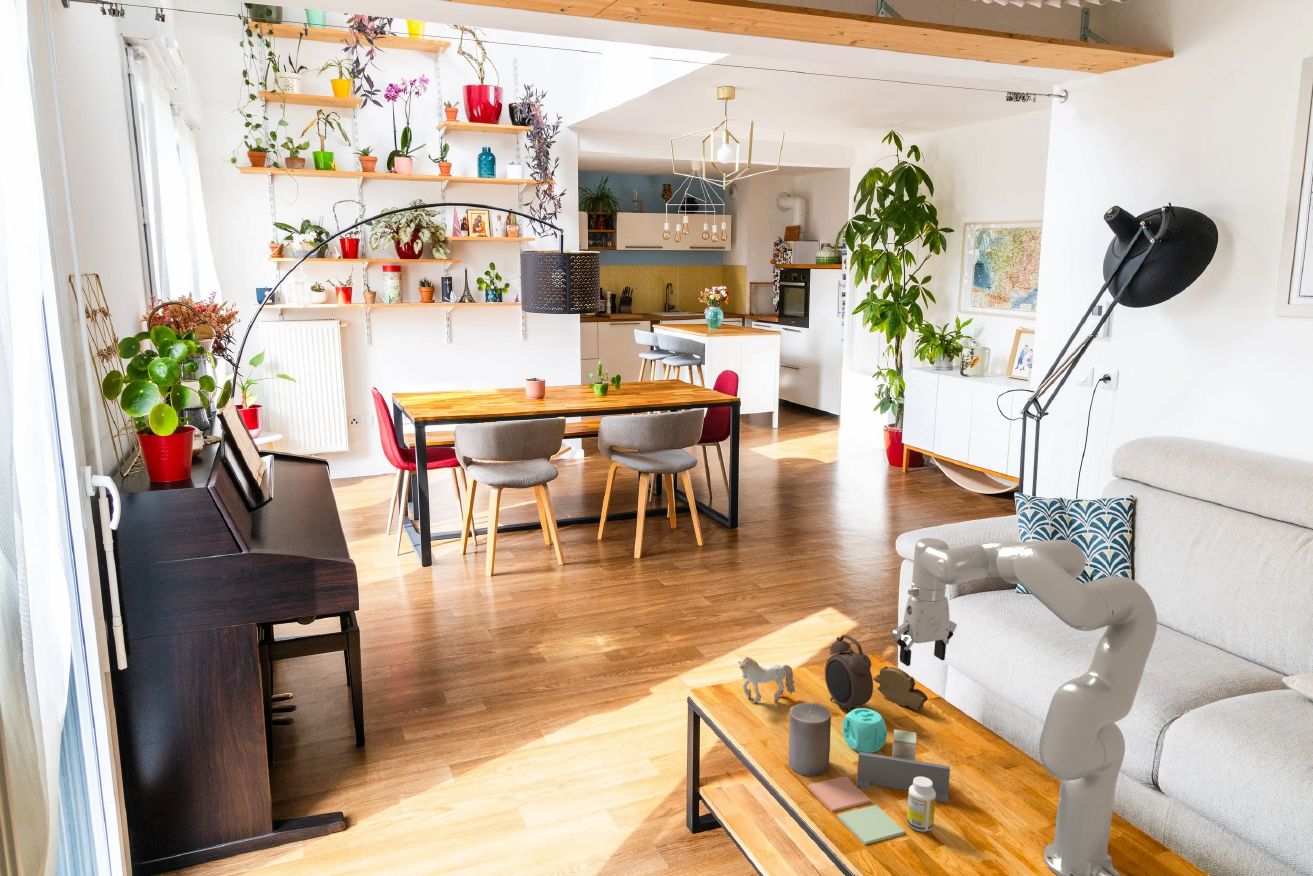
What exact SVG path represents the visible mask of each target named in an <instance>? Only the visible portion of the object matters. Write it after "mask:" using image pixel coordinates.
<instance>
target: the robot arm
mask: <svg viewBox="0 0 1313 876" xmlns="http://www.w3.org/2000/svg"><path fill="white" fill-rule="evenodd" d="M1085 567H1086V555H1085V554H1084V552H1083V550H1082V548H1080V546H1079V545H1077V543H1076V544H1075V543H1074V542H1071V541H1070V540H1069V541H1068V540H1064V539H1050V540H1049V539H1048V540H1034V541H1033V540H1032V541H1019V542H997V543H996V542H994V543H979V544H971V545H966V546H961V547H956V548H950V546H949V544H948V543H947V542H946V541H944V540H942V539H939V538H933V537H932V538H930V537H926V538H925V537H924V538H920V539H919V540H917V541H916V542H915V546H914V554H913V567H912V578H911V588H910V589H908V590H907V594H908V598H907V602H906V606H905V609H904V610H905V611H904V616H903V621H902V622H903V623H902V624H901V625H899V626H898V627H896V628H895V629H894V630H892V631H891V633H892V636H893V639H894V642H895V643H897V645H898V646H899V662H900V663H902V664H903V665H905V666H906V667H910V666H911V663H912V661H911V659H912V650H911V647H912V646H913V645H914V643H915V644H924V643H930V642H934V650H933V651H934V652H933V656H934V657H936V658H938V659H939V660H941V661H945V660H946V651H947V645H949V643H950V639H951V638H953V635H954V632H955V630H956V628H957V627H958V624H957V623H956V622H955V621H952V620H950V606H949V600H948V597H947V596H946V587H947V585H949V586H950V585H957V584H963V583H966V582H969V581H970V582H971V581H973V580H979V579H984V578H997V577H998V578H999V577H1001V578H1002V579H1003V580H1004V582H1006V583H1008V584H1013V585H1016V584H1017V585H1020V584H1021V585H1022V586H1023V587H1024V588H1025V589H1026V590H1027V591H1028V592H1029V593H1030V594H1031V595H1032V596H1033V597H1035V598H1036V600H1038V601H1039V602H1040V603H1041V604H1042V605H1043V606H1045V607H1046V608H1047V609H1048V610H1049V611H1051V612H1052V614H1054V615H1055V616H1056V617H1057V618H1058V619H1060V621H1062V622H1063V623H1065V624H1066V625H1067V626H1068V627H1070V628H1072V629H1074V630H1076V631H1082V632H1092V631H1096V630H1099V629H1102V628H1105V627H1107V628H1106V630H1105V632H1104V633H1103V635H1102V636H1101V638H1100V639H1099V641H1098V643H1097V645H1096V648H1095V650H1094V654H1093V657H1092V660H1091V663H1090V666H1089V668H1088V670H1087V671H1086V672H1085V673H1083V674H1082V675H1080V676H1078V677H1077V676H1076V677H1074V678H1073V679H1070V680H1068V681H1066V682H1064V683H1063V684H1061V685H1060V686H1059V687H1058V689H1057V690H1056V691H1055V692H1054V694H1053V697H1052V698H1051V701H1050V704H1049V707H1048V711H1047V714H1046V718H1045V721H1044V725H1043V727H1042V729H1041V730H1042V731H1041V734H1040V737H1039V744H1038V750H1039V758H1040V761H1041V763H1042V765H1043V766H1044V768H1045V769H1046V771H1047V772H1048V773H1049V774H1050V775H1052V777H1054V778H1056V779H1058V780H1060V785H1059V792H1058V800H1057V801H1058V802H1057V809H1056V820H1055V828H1054V837H1053V842H1051V843H1049V844H1048V845H1047V846H1045V848H1044V851H1043V853H1044V854H1043V858H1044V862H1045V864H1046V866H1047V867H1048V868H1049V869H1050V870H1051V871H1052V872H1053V873H1054V874H1055V875H1057V876H1122V874H1121V873H1120V872H1118V870H1116V869H1114V867H1113V864H1112V856H1111V855H1109V854H1108V847H1109V840H1110V832H1111V824H1112V816H1113V807H1114V800H1115V794H1116V786H1117V782H1118V777H1119V773H1120V770H1121V768H1122V764H1123V761H1124V757H1125V753H1126V752H1125V751H1126V742H1125V741H1126V740H1125V737H1124V734H1123V732H1122V731H1121V728H1120V727H1119V726H1118V725H1117V724H1116V722H1118V721H1121V720H1123V719H1125V718H1126V717H1127V716H1128V715H1129V714H1130V712H1131V710H1132V707H1133V706H1134V702H1135V698H1136V696H1137V693H1138V689H1139V686H1140V684H1141V681H1142V677H1143V674H1144V670H1145V668H1146V667H1145V666H1146V664H1147V662H1148V658H1149V656H1150V653H1151V651H1152V648H1153V645H1154V642H1155V639H1156V635H1157V634H1156V633H1157V629H1158V616H1157V612H1156V611H1157V610H1156V608H1155V605H1154V602H1153V600H1152V598H1151V596H1150V595H1149V593H1148V592H1147V590H1145V588H1144V587H1143V586H1142V585H1141V584H1139V582H1137V581H1135V580H1134V579H1132V578H1129V577H1126V576H1119V575H1118V576H1117V575H1116V576H1115V575H1113V576H1105V577H1101V578H1098V579H1094V580H1090V581H1088V582H1087V581H1086V582H1083V583H1081V582H1079V581H1078V580H1077V579H1078V578H1079V577H1080V576H1081V575H1082V573H1083V572H1084V570H1085ZM902 635H903V636H902Z"/></svg>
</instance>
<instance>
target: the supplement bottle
mask: <svg viewBox="0 0 1313 876" xmlns="http://www.w3.org/2000/svg"><path fill="white" fill-rule="evenodd" d="M935 800H936V793H935V790H934V789H933V783H932V781H931V780H930V779H928V778H926V777H921V776H919V777H915V778H914V780H913V785H911V786H910V788H909V791H908V795H907V810H906V811H907V812H906V822H907V825H908V826H909V827H910V828H911V829H912V830H914V831H918V832H925V833H926V832H929V831H931V830H932V829H933V827H934V825H935V824H934V823H935V810H936V801H935Z"/></svg>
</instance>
